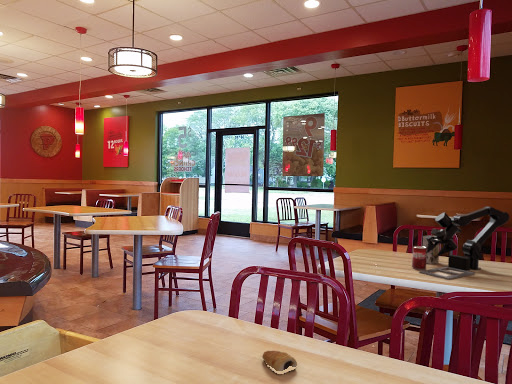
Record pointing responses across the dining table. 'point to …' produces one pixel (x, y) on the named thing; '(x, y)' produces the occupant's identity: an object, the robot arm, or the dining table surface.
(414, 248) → the soda can
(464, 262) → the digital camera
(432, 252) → the coffee box
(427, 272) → the label frame
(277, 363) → the pastry
